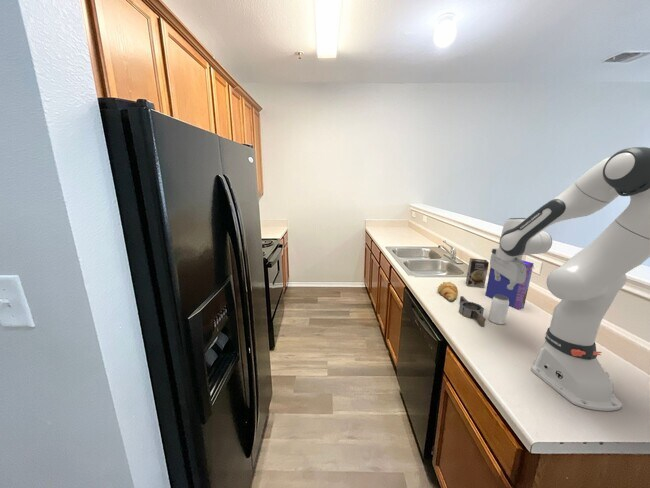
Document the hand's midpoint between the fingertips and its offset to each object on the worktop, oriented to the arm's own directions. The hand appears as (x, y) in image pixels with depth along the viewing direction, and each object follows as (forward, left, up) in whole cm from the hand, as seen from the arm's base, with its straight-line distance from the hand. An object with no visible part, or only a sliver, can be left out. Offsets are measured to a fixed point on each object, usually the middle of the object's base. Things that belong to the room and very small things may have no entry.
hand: (503, 284), depth 119 cm
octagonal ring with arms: (+2, +9, -18) cm, 20 cm away
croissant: (+28, +12, -18) cm, 35 cm away
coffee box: (+42, -10, -18) cm, 47 cm away
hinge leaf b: (+9, +9, -18) cm, 22 cm away
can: (0, 0, -18) cm, 18 cm away
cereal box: (+21, -15, -18) cm, 31 cm away
